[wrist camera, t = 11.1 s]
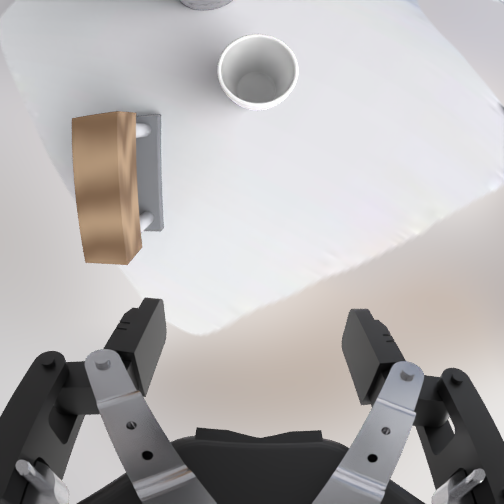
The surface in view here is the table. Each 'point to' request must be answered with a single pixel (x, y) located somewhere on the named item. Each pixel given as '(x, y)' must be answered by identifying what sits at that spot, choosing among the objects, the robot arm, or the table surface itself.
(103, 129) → the brown rectangular block
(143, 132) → the peg stand
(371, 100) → the table surface
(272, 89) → the drinking glass
